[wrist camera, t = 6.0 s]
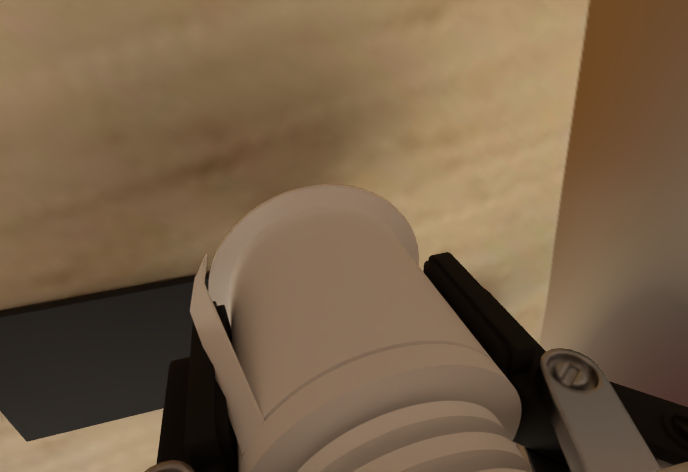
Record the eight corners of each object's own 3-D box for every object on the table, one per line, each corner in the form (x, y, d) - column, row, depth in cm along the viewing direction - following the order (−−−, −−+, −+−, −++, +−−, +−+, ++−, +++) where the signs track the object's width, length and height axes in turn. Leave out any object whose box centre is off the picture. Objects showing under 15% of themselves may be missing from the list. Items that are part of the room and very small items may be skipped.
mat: (30, 433, 25) (26, 442, 24) (-63, 322, 20) (-71, 330, 19) (354, 355, 29) (356, 361, 29) (350, 246, 24) (353, 251, 23)
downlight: (459, 229, 14) (827, 563, 5) (362, 366, 16) (519, 748, 8) (247, 133, 10) (400, 731, 2) (160, 330, 12) (51, 990, 4)
